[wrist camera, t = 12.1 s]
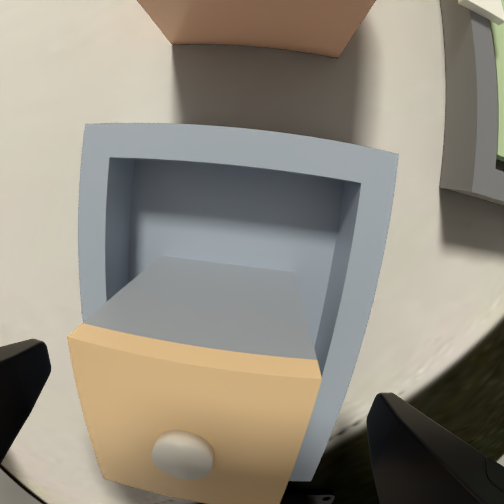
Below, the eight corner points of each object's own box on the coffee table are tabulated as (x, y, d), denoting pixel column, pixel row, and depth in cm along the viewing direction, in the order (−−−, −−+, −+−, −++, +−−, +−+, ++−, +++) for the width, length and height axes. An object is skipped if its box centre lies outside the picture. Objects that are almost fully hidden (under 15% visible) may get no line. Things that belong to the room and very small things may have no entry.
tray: (306, 443, 13) (310, 481, 11) (125, 416, 13) (107, 450, 11) (370, 157, 10) (398, 153, 8) (119, 132, 10) (84, 124, 8)
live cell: (274, 380, 12) (276, 522, 6) (160, 364, 12) (98, 488, 6) (293, 272, 11) (325, 393, 4) (162, 255, 11) (56, 347, 5)
